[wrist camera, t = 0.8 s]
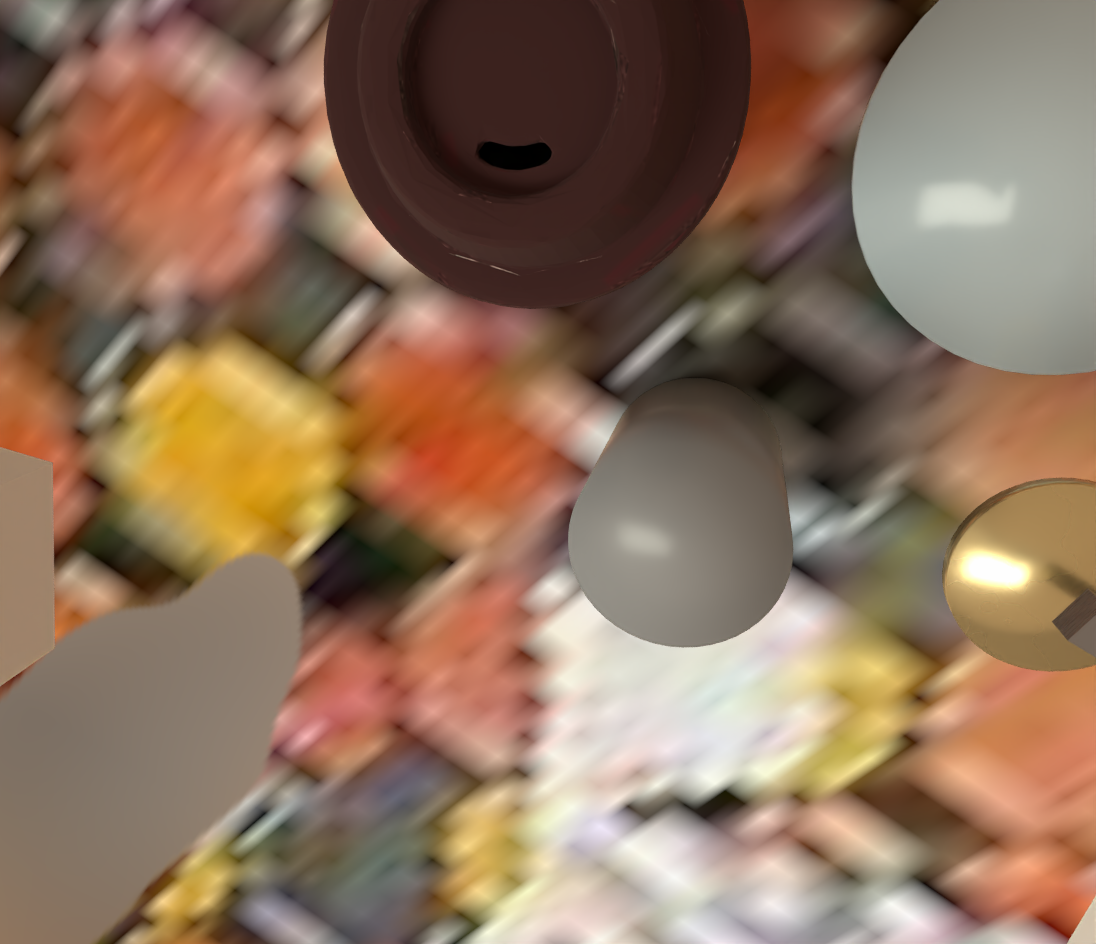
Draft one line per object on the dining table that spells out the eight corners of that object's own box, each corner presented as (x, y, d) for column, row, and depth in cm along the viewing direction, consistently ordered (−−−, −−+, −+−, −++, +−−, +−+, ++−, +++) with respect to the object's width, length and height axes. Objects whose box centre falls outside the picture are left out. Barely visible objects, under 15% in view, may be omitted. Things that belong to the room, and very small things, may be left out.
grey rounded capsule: (578, 478, 36) (528, 566, 28) (672, 343, 34) (647, 397, 25) (713, 569, 36) (704, 685, 28) (818, 442, 34) (842, 528, 25)
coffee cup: (582, -91, 29) (437, -330, 16) (809, 83, 30) (862, 1, 16) (436, 158, 33) (215, 144, 19) (637, 311, 33) (560, 405, 20)
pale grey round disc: (768, 229, 31) (769, 231, 30) (1049, -170, 26) (1063, -185, 25) (1080, 441, 31) (1093, 450, 30) (1427, 86, 26) (1458, 82, 25)
